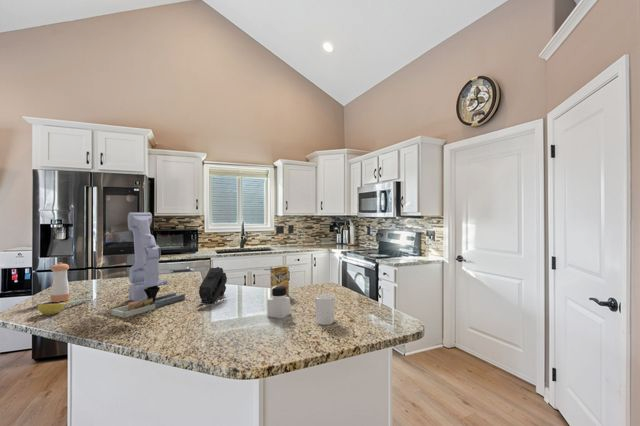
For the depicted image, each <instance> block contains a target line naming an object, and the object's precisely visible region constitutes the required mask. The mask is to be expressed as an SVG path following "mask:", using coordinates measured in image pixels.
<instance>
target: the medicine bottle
mask: <svg viewBox="0 0 640 426" xmlns="http://www.w3.org/2000/svg"><path fill="white" fill-rule="evenodd" d="M266 302H267V303H266V308H267V310H266V314H267V317H268V318H274V319H280V320H281V319H283V318H286V317H287V316H289V315H291V297H290V296H286V288H285V287H284V286H275V287H273V288H272V297H269V298H268V299H267V300H266Z"/></svg>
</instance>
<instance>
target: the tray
mask: <svg viewBox="0 0 640 426" xmlns="http://www.w3.org/2000/svg"><path fill="white" fill-rule="evenodd" d="M154 309H156V308H155V304H152V305H148V306H145V307H141V308H138V309H134V310H131V311H128V304H126V305H123V306H119V307H116V308H112V309H110V315H111V316H115V317H120V318H123V319H125V318H129V317H132V316H135V315H139V314H142V313H146V312H149V311H151V310H154Z"/></svg>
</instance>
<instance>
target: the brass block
mask: <svg viewBox="0 0 640 426" xmlns="http://www.w3.org/2000/svg"><path fill="white" fill-rule="evenodd" d="M139 301H142V302H143V307H145V306H148V305H152V304H153V299H152V298H149V297H146V298H143V299H141V300H139Z"/></svg>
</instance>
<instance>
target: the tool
mask: <svg viewBox="0 0 640 426" xmlns="http://www.w3.org/2000/svg"><path fill="white" fill-rule="evenodd" d="M227 281H228V278H227V274H226V272H224V269H223V267H219V266H217V267H210V268H209V270H208V271H207V273H206V274H205V277H204V278H203V280H202V282H201V284H200V286H199V289H198V295H199V298H200V299H201V300H200V301H201V303H202V304H205V303H210V304H216V303H217V300H218V299H219V297H220V296H224V295H225V292H226V290H227V287H226V284H227Z"/></svg>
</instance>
